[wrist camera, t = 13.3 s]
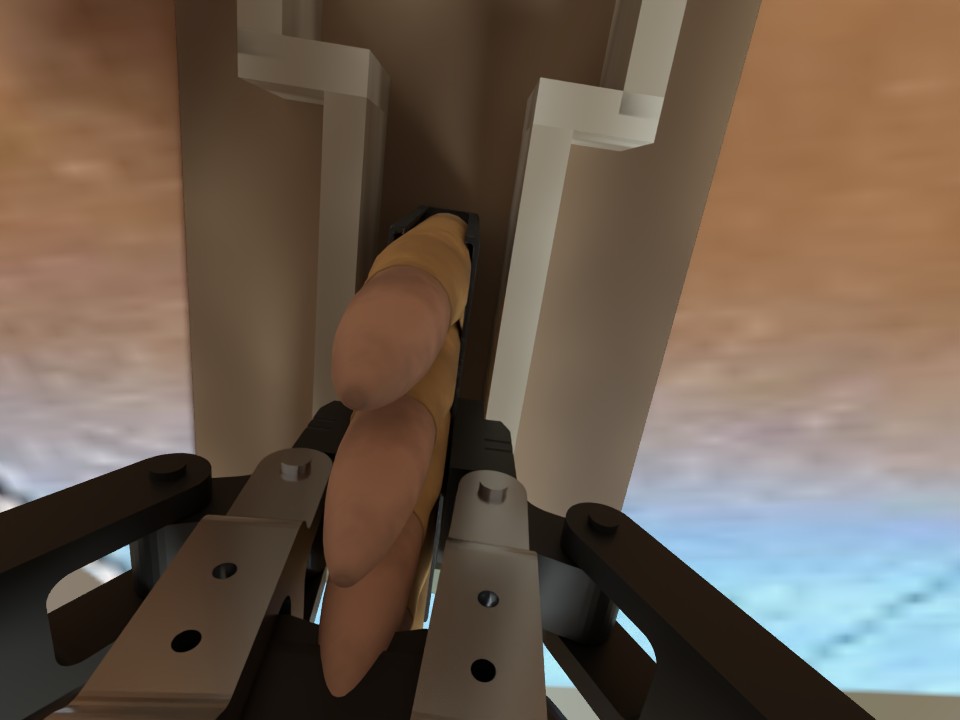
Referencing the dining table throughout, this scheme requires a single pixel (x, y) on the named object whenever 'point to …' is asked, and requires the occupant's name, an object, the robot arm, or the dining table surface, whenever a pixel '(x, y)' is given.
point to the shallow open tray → (451, 204)
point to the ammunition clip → (394, 437)
